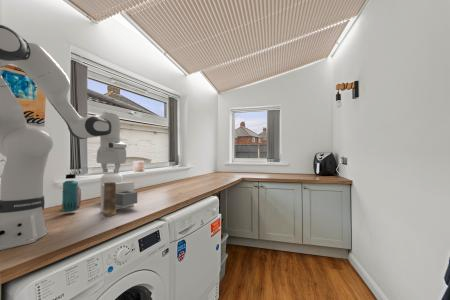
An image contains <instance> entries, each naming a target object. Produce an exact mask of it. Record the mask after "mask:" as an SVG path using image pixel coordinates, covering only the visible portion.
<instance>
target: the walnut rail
mask: <svg viewBox="0 0 450 300" xmlns="http://www.w3.org/2000/svg"><path fill="white" fill-rule="evenodd" d="M115 194H116V182H107V183H104V212H103V217H112V216H115V215H117V213H116V211H117V209H115Z"/></svg>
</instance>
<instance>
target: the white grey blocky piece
mask: <svg viewBox="0 0 450 300" xmlns="http://www.w3.org/2000/svg"><path fill="white" fill-rule="evenodd" d="M134 204H138V191H135V182H134V181H123V183H116V194H115V209H116V210H121V209H124V208H129V207H133V206H135V205H134ZM100 213H104V185H101V184H100Z"/></svg>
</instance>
